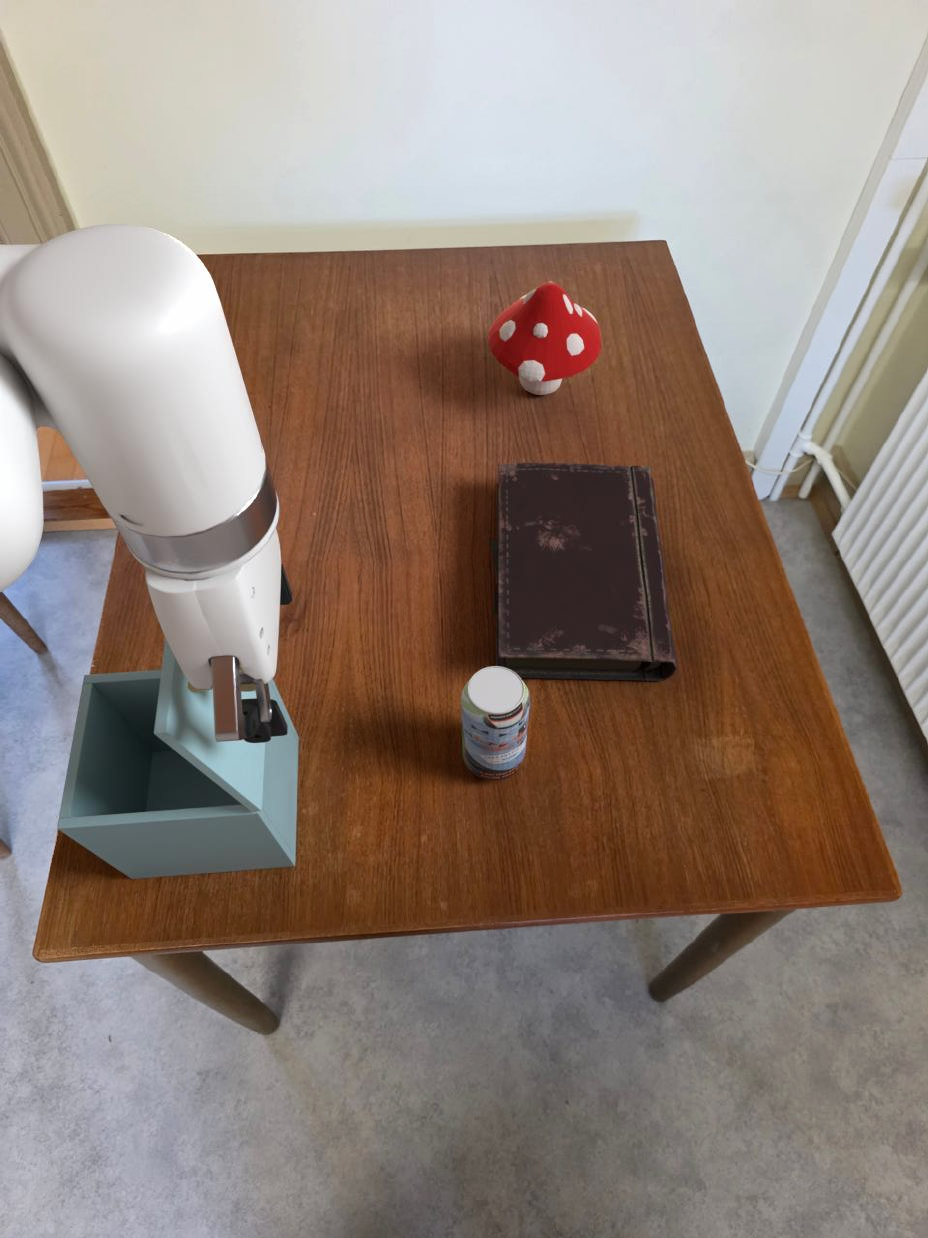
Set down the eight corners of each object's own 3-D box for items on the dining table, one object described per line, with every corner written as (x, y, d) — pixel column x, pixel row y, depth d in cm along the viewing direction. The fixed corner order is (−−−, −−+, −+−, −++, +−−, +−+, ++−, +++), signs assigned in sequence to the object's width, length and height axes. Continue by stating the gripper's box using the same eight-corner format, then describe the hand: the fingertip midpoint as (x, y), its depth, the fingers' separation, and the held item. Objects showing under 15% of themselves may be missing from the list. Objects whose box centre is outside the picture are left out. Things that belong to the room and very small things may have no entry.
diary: (647, 492, 96) (656, 463, 91) (670, 683, 83) (682, 660, 79) (489, 489, 96) (491, 460, 92) (488, 679, 83) (490, 656, 79)
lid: (153, 733, 46) (242, 722, 46) (175, 553, 53) (254, 541, 52) (251, 812, 59) (321, 803, 59) (260, 660, 66) (323, 651, 65)
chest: (131, 879, 73) (56, 828, 59) (148, 747, 79) (83, 674, 66) (295, 866, 73) (258, 813, 60) (298, 737, 80) (265, 662, 66)
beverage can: (471, 793, 77) (473, 745, 67) (451, 723, 81) (450, 668, 70) (534, 776, 78) (546, 726, 68) (512, 708, 81) (519, 651, 71)
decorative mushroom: (564, 336, 109) (577, 234, 97) (615, 404, 103) (637, 304, 90) (469, 366, 106) (470, 265, 94) (515, 438, 100) (524, 339, 87)
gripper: (137, 373, 43) (218, 559, 58) (85, 663, 34) (196, 796, 49) (280, 366, 43) (324, 553, 58) (265, 652, 34) (322, 786, 49)
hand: (266, 664), depth 53 cm, fingers open, 9 cm apart
